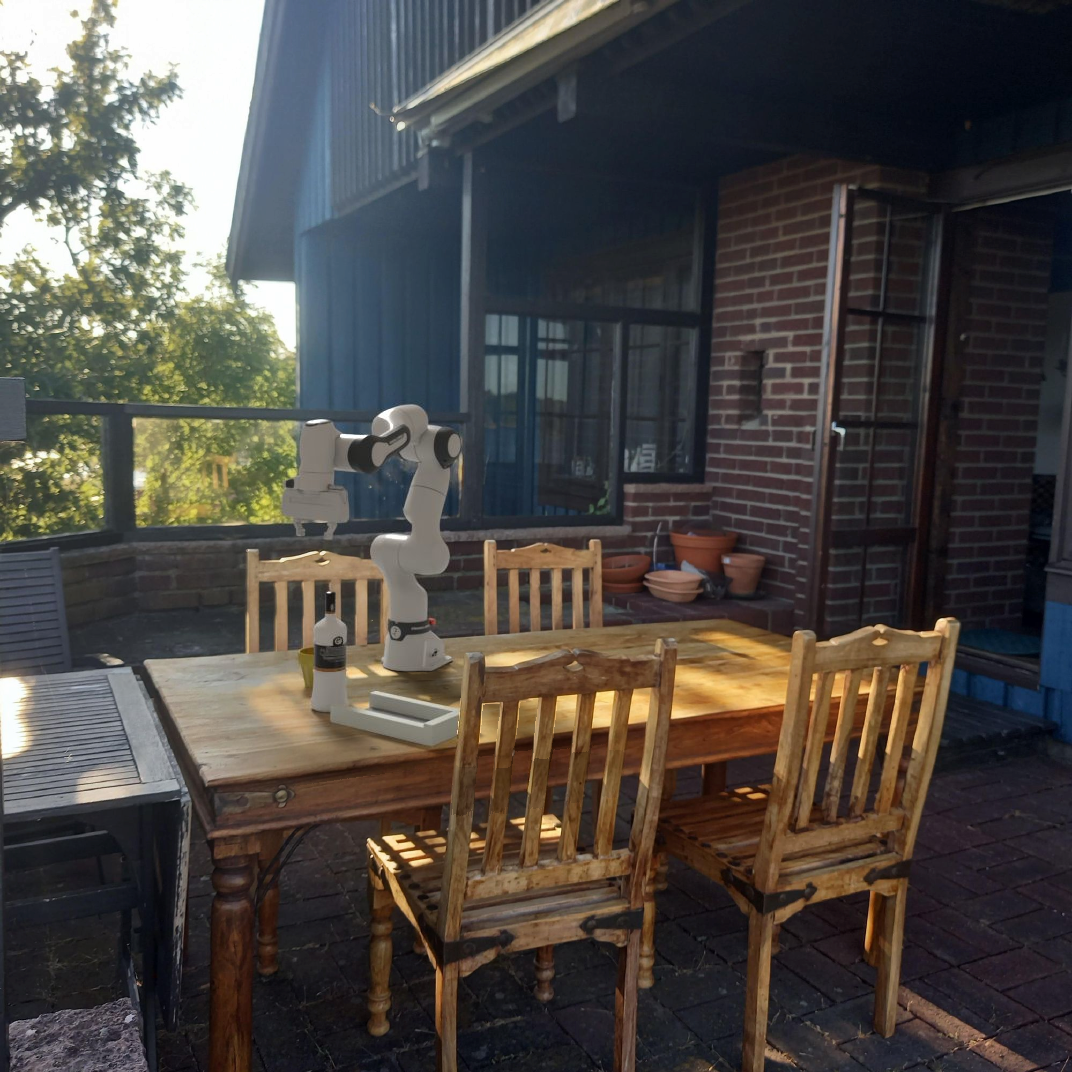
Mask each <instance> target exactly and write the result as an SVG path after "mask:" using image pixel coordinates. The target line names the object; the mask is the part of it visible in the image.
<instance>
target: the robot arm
mask: <svg viewBox="0 0 1072 1072" xmlns="http://www.w3.org/2000/svg"><path fill="white" fill-rule="evenodd" d="M334 424H335V423H334V422H333V421H332V420H330V419H325V418H324V419H312V420H311V419H310V420H308V421H306V422H305V423H303V425H302V428H301V430H300V431H301V432H300V438H299V451H298V453H299V458H300V465H299V468H298V475H295V476H293V477H290V478H287V479H285V480H284V479H283V480H282V481H283V482H282V486H283V487H282V488H284V490H283V492H282V494H281V495H282V496H281V514H282V515H283V517H287V518H292V523H293V526H294V528H295V529H296V530H295V534H296V536H298V537H304V536H305V535H306V529H305V528H304V527H303V524H302V523H303V522H304V521H303V520H312V521H320V522H327V523H326V525H327V527H328V528H327V530H326V531H325V532H323V539H324V540H327V541H328V540H329V541H330V540H333V538H334V537H333V536H334V532H335V530H336V529H337V527H338V524H343V523H348V521H349V520H350V505H349V503H350V502H349V494H348V493H349V492H348V490H347V489H346V488H345V487H344V486H343V485H335V471H338V472H339V471H342V472H350V473H351V472H352V473H360V474H364V475H365V474H366V475H373V474H376V472H378V471H379V470H380V469H381V468H382V466H383V465H384V464H385V463H386V461H388V460H389V459H391V457H393V456H394V457H395V458H397V459H400V460H402V461H412V462H417V469H416V471H415V473H414V475H413V478H412V481H411V482H410V486H409V490H408V491H407V492H408V493H407V496H406V499H405V503H404V506H403V515H404V516H405V518H406V520H407V521H408V522H409V524H411V526H412V527H411V533H410V534H400V533H392V532H391V533H385V534H384V533H383V534H380V535H378V536H376V537H375V538H374V540H373V541H372V543H371V545H370V549H369V550H370V551H369V552H370V555H369V556H370V557H371V561H372V563H373V564H374V565H375V566H376V567H377V568H378V569H379V571H380V572H381V574H382V576H383V578H384V581H385V584H386V587H387V591H388V602H389V611H388V612H389V615H388V616H389V617H388V618H387V624H386V626H387V631H388V633H387V635H386V636H385V643H384V651H383V656H382V657H381V658H380V659H381V661H380V662H381V663H382V667H383V668H385V669H388V670H391V671H401V672H418V671H420V672H421V671H422V672H424V671H425V672H427V671H428V672H432V671H435V670H437V669H439V668H440V667H443V666H444V665H446V664H448V663H450V662H452V661H453V657H452V656H450V655H448V654H445V644H444V642H443V641H444V640H442V639H441V638H440V637H439V636H437V634H435V633H434V632H433V631H432V630H431V626H435V625H436V623H437V620H436V618H431V617H429V618H428V593H427V591H426V589H425V588H424V587H423V586H422V585H421V584H419V582H418V581H417V579H416V576H415V575H423V576H431V575H439V574H441V573H444V571H445V570H446V569H447V567H448V566H449V563H450V558H451V557H450V555H451V554H450V550H449V546H448V545H447V544H446V542H444V540H443V538H442V535H441V529H440V524H441V523H440V522H441V517H442V514H443V513H442V512H443V510H444V509H443V508H444V506H445V505H444V504H445V502H446V498H447V494H448V491H449V486H450V478H451V468H450V467H452V465H453V464H454V462H455V461H456V460H457V459H458V458H459V456H460V454H461V452H462V451H461V450H462V439H461V436H460V434H459V432H458V431H457V430H455V429H454V428H451V427H448V426H439V425H435V424H434V425H433V424H429V417H428V414H427V413H426V411H425V410H424V409H423V408H422V407H421V406H419V405H417V404H412V403H411V404H401V405H398V406H394V407H391V408H389V409H386V410H384V411H382V412H380V413H379V414H378V415H376V417H374V419H373V421H372V423H371V434H350V433H349V434H348V433H346V434H345V433H343V432H342V431H340V430H338V429H337V428H336V427H335V425H334Z"/></svg>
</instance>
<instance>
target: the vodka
mask: <svg viewBox="0 0 1072 1072" xmlns="http://www.w3.org/2000/svg"><path fill="white" fill-rule="evenodd" d="M324 593H325V594H324V596H325V597H324V598H325V599H324V600H325V603H324V604H325V605H324V608H325V609H324V611H325V612H324V613H325V614H324V618H322V619H321V620H319V621H317V622H316V624H314V626H313V639H312V641H313V647H314V669H313V676H314V681H313V688H312V695H311V698H310V706H311V709H312V710H314V711H316V712H319V713H327V714H328V713H331V706H332V705H335V704H341V705H346V706H349V698H348V695H347V671H348V670H347V642H348V639H347V638H348V637H347V636H348V628H347V625H346V624H345V622H343V621H342V620H340V619H339V618H337V614H336V610H337V609H336V608H337V607H336V603H337V601H336V599H337V594H336V591H333V590H330V591H326V592H324Z"/></svg>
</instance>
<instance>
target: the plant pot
mask: <svg viewBox="0 0 1072 1072" xmlns="http://www.w3.org/2000/svg"><path fill="white" fill-rule="evenodd" d="M297 663H298V664H299V665H300V668H301V672H302V676H303V682H304V686H305V687H306V688H309V689H313V681H314V676H313V669H314V646H306V647H303V648H300V649H298V651H297Z"/></svg>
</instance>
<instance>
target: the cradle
mask: <svg viewBox="0 0 1072 1072" xmlns="http://www.w3.org/2000/svg"><path fill="white" fill-rule="evenodd" d="M368 699H369V703H368V705H369V707H368V708H367V707H366V708H365V709H362V708H358V707H354V706H349V705H347V706H346V705H341V704H335V705H332V706H331V713H330V718H329V719H330V721H329V722H330V723H333V724H337V725H341V726H344V727H345V726H346V727H348V728H349V727H350V728H354V729H357V730H360V731H361V730H362V731H366V732H370V733H374V734H377V735H378V734H379V735H383V736H387V737H390V738H395V739H398V740H403V741H406V742H410V743H415V744H420V745H423V746H427V747H435V746H437V745H439V744H441V743H444V742H446V741H448V740H451V739H453V738H455V737H458V736H457V730H458V721H459V712H460V709H461V708H457V707H452V706H446V705H444V704H443V705H442V704H438V703H433V702H429V701H424V700H419V699H415V698H411V697H405V696H402V695H396V694H392V693H389V692H388V693H387V692H384V691H383V692H382V691H378V690H374V691H371V692H369V698H368Z"/></svg>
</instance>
